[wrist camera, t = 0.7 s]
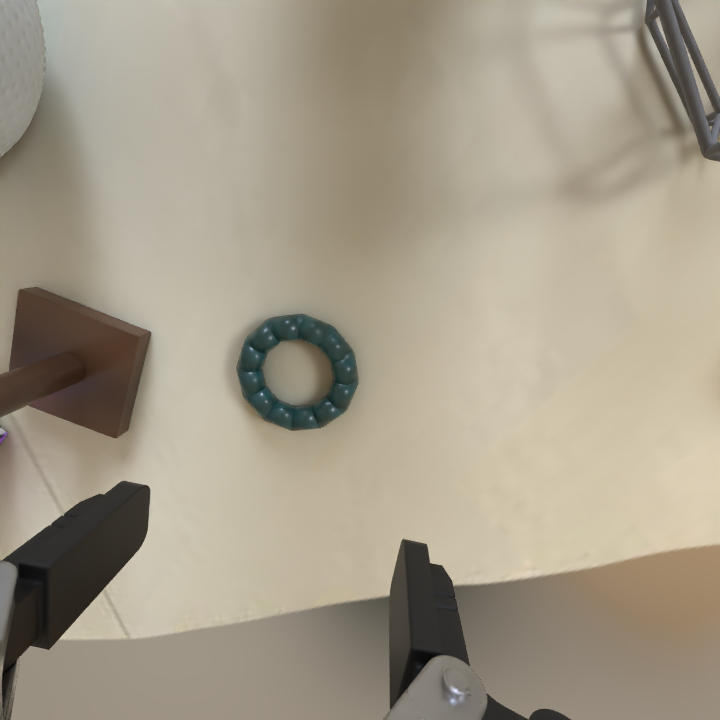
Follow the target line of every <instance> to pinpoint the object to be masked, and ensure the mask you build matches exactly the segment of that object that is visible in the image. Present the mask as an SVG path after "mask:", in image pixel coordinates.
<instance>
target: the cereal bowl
mask: <svg viewBox="0 0 720 720" xmlns="http://www.w3.org/2000/svg"><path fill="white" fill-rule="evenodd" d="M44 43H45V42H44V36H43V28H42V24H41V17H40V15H39V9H38V7H37V4H36V0H0V157H1V156H3V155H4V153H6V152H8V150H10V149H11V148H12V146H13V145H14V144H15V143H17V142H18V140H19V139H21V137H22V135H23V134H24V132H25V131H26V130H27V127H28V126H29V124H30V123H31V119H32V118H33V117H34V113H35V111H36V110H37V105H38V104H39V98H40V97H41V91H42V89H43V81H44V72H45V56H44V54H45V46H44Z"/></svg>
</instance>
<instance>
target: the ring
mask: <svg viewBox="0 0 720 720" xmlns="http://www.w3.org/2000/svg"><path fill="white" fill-rule="evenodd" d="M293 340H302V341H304V342H307V343H309V344H312V345H314V346H317V347H318V348H319V349H320V350H321V351H322V352H323V354H324V355H325V356H326V357H327V358H328V360H329V361H330V362H331V368H332V374H333V379H334V380H333V382H332V385H331V387H330V390H329V392H328V395H327V396H325V397H324V398H323V399H321V400H320V401H318V402H317V403H316V404H314V405H308V406H299V407H295V406H293V405H290V404H288V403H285V402H282V401H280V400H278V399H277V398H276V397H275V395H274V394H273V393H272V392H271V391H270V390H269V389H268V387H267V386H266V383H265V379H264V374H263V370H262V368H263V365H264V362H265V359H266V356H267V353H268V352H269V351H270V350H272V349H273V348H274V347H275V346H277V345H278V344H279V343H280V342H285V341H293ZM237 373H238V378H239V382H240V386H241V390H242V394H243V397H244V398H245V400H246V401H247V402H248V403H249V404H250V405H251V406H252V408H253V409H254V410H255V411H256V412H257V413H258V414H259V415H260V416H261V417H262V419H264V420H265V421H267V422H270V423H273V424H275V425H278V426H280V427H283V428H286V429H288V430H291V431H298V430H308V429H317V428H322V427H324V426H326V425H327V424H329V423H330V422H331V421H333V420H334V419H336V418H337V417H339V416H340V415H341V414H343V413H344V412H345V411H346V410H347V409H348V407H349V404H350V402H351V400H352V397H353V395H354V393H355V390H356V388H357V386H358V374H357V368H356V361H355V355H354V352H353V350H352V348H351V347H350V346H349V345H348V343H347V342H346V341H345V340H344V338H343V337H342V336H341V335H340V334H339V332H338V331H337V330H336V329H335V328H334V327H333V326H332V325H330V324H327V323H325V322H322V321H320V320H317V319H315V318H312V317H310V316H307V315H305V314H296V315H288V316H281V317H274V318H270V319H268V320H267V321H266V322H265V323H263V324H262V325H261V326H260V327H258V328H257V329H256V330H255V331H254V332H252V333H251V334H250V335H249V336H248V337H247V338H246V339H245V341H244V344H243V347H242V351H241V354H240V357H239V360H238V363H237Z"/></svg>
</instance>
